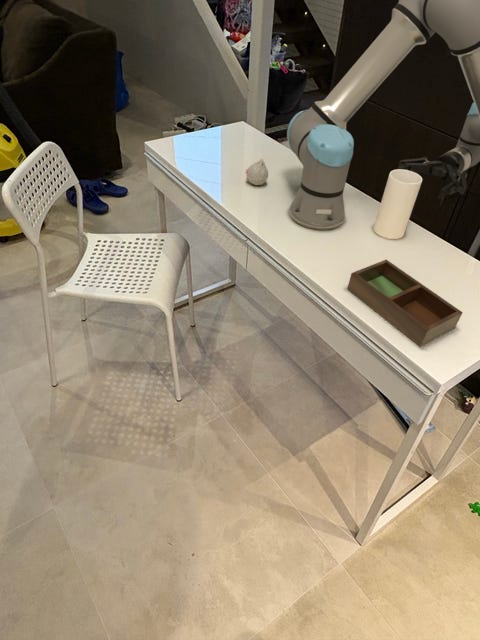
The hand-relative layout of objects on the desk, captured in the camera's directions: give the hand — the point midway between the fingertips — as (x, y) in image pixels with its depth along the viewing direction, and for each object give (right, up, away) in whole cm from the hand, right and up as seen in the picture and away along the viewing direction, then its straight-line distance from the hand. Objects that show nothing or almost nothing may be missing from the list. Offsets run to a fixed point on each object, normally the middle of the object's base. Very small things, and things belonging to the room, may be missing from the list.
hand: (417, 185), depth 132 cm
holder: (-12, -34, -23) cm, 43 cm away
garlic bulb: (-43, +5, +18) cm, 47 cm away
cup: (-7, -12, +2) cm, 14 cm away
